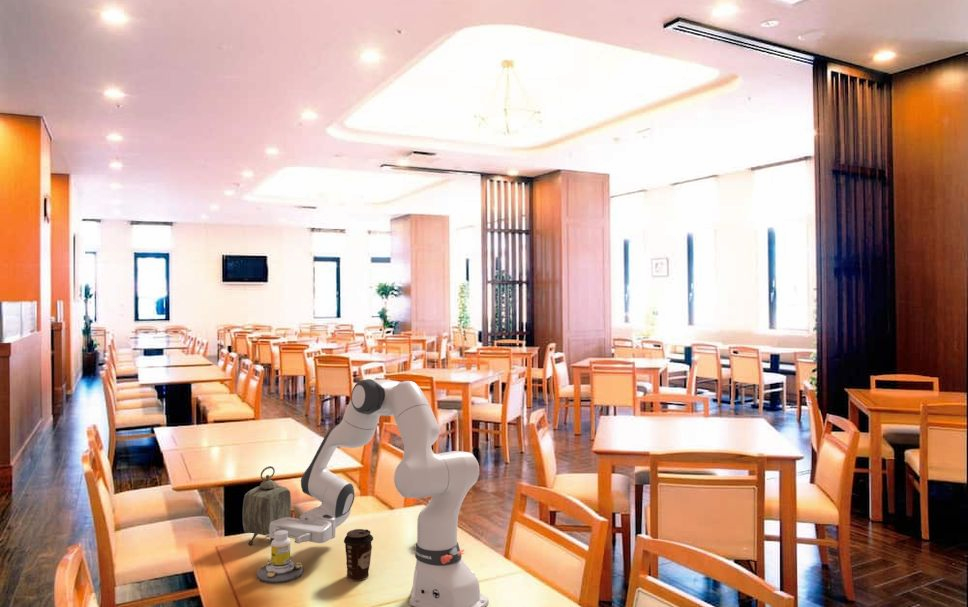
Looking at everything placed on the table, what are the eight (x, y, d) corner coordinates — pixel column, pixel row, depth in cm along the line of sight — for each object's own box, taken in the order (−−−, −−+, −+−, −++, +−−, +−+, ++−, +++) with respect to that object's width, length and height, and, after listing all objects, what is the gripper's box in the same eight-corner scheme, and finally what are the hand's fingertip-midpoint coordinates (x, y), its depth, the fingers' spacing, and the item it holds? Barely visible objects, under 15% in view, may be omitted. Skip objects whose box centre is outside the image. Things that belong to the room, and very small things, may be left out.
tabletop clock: (270, 532, 231) (271, 460, 230) (292, 535, 227) (293, 463, 227) (242, 546, 217) (242, 470, 217) (264, 550, 214) (265, 473, 214)
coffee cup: (376, 571, 198) (377, 528, 198) (369, 583, 190) (369, 538, 190) (348, 570, 199) (348, 527, 199) (339, 581, 191) (340, 537, 191)
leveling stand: (311, 573, 196) (311, 565, 196) (271, 587, 187) (271, 578, 187) (288, 561, 205) (288, 553, 205) (248, 574, 195) (249, 565, 195)
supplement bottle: (270, 563, 197) (271, 530, 197) (289, 560, 199) (289, 528, 199) (271, 570, 192) (272, 536, 192) (290, 567, 194) (291, 534, 194)
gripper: (286, 509, 214) (256, 522, 201) (339, 518, 206) (311, 532, 193) (286, 529, 214) (256, 543, 201) (339, 538, 206) (311, 554, 193)
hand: (283, 538), depth 197 cm, fingers open, 8 cm apart
